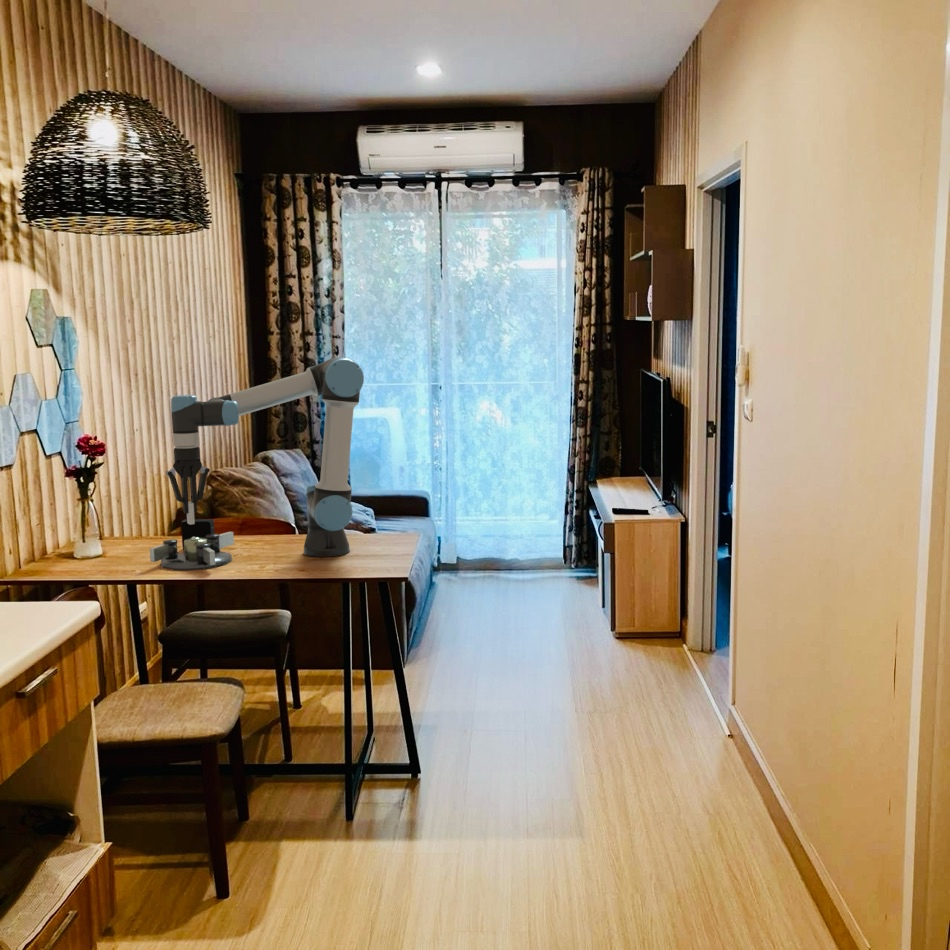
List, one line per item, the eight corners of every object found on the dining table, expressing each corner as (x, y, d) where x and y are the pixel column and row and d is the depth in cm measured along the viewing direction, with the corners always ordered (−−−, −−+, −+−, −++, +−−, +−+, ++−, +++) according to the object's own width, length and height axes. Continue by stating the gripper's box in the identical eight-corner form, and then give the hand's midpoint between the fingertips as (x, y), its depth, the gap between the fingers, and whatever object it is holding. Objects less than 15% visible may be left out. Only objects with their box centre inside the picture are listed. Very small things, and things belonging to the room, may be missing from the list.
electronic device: (211, 550, 328) (210, 521, 327) (182, 550, 329) (180, 521, 327) (215, 547, 333) (213, 518, 331) (186, 547, 333) (184, 519, 331)
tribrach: (246, 557, 316) (244, 532, 315) (198, 573, 297) (196, 546, 296) (195, 551, 326) (193, 527, 325) (145, 566, 307) (144, 540, 306)
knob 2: (195, 561, 305) (193, 544, 305) (208, 559, 308) (207, 542, 307) (205, 568, 296) (204, 550, 295) (220, 566, 298) (218, 548, 298)
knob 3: (214, 554, 315) (213, 537, 315) (203, 553, 317) (202, 536, 317) (237, 547, 325) (236, 530, 324) (227, 546, 327) (226, 529, 326)
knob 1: (170, 556, 314) (168, 539, 313) (181, 557, 312) (180, 539, 311) (147, 564, 303) (145, 546, 303) (158, 565, 302) (157, 547, 301)
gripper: (204, 444, 298) (208, 519, 301) (161, 447, 291) (165, 524, 294) (211, 446, 291) (215, 523, 295) (168, 449, 284) (172, 528, 288)
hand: (190, 523), depth 294 cm, fingers closed
